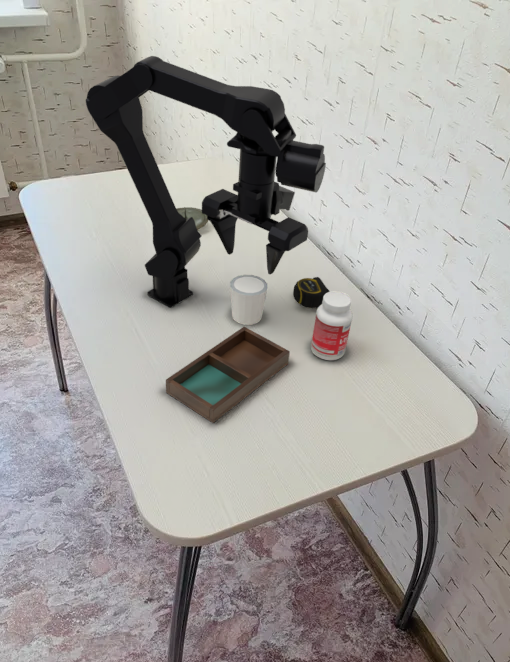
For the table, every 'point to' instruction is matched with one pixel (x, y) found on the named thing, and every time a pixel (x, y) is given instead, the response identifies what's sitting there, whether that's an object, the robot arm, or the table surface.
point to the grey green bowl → (194, 216)
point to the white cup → (248, 298)
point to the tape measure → (310, 292)
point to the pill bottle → (332, 326)
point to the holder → (227, 373)
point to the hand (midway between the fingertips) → (250, 263)
